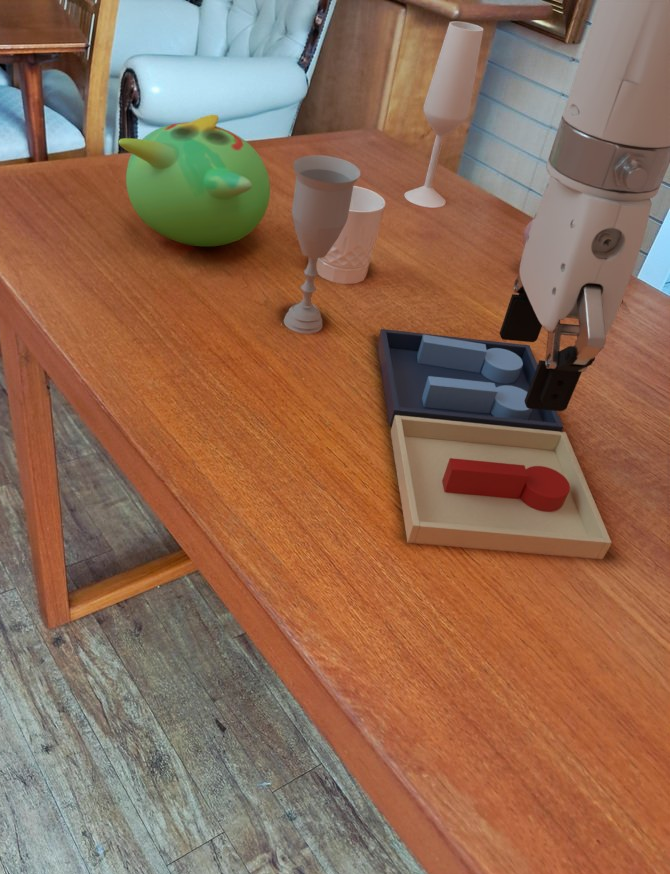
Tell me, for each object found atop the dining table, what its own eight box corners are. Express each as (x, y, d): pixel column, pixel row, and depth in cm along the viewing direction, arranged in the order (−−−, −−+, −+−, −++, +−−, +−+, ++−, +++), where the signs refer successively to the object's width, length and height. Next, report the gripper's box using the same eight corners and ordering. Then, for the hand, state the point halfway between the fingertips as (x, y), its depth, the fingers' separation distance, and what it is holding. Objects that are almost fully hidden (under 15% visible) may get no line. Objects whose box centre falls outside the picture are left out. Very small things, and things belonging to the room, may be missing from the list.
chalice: (320, 349, 88) (348, 189, 76) (263, 332, 89) (282, 171, 77) (340, 320, 93) (369, 166, 81) (286, 304, 94) (307, 149, 82)
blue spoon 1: (515, 364, 90) (523, 343, 88) (520, 386, 87) (528, 365, 85) (416, 349, 90) (422, 327, 88) (417, 370, 86) (423, 348, 84)
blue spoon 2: (524, 401, 85) (532, 379, 83) (533, 426, 81) (542, 404, 79) (420, 390, 84) (426, 368, 82) (425, 415, 80) (432, 392, 78)
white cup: (360, 295, 98) (376, 217, 92) (301, 278, 100) (312, 200, 93) (376, 269, 104) (392, 194, 97) (319, 254, 105) (331, 179, 98)
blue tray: (522, 363, 91) (529, 345, 90) (555, 446, 80) (563, 426, 78) (376, 347, 90) (380, 328, 88) (388, 430, 79) (394, 409, 77)
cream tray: (557, 451, 80) (565, 432, 78) (600, 562, 68) (612, 542, 67) (389, 434, 78) (394, 414, 76) (406, 546, 67) (412, 525, 65)
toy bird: (274, 227, 110) (287, 115, 100) (247, 282, 97) (259, 160, 87) (148, 202, 110) (149, 88, 100) (106, 253, 98) (102, 129, 88)
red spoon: (556, 482, 75) (567, 459, 73) (568, 514, 72) (580, 491, 70) (439, 470, 74) (447, 447, 72) (446, 503, 71) (454, 479, 69)
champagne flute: (396, 197, 123) (433, 22, 107) (416, 186, 128) (455, 17, 112) (434, 211, 121) (478, 35, 105) (453, 200, 125) (498, 29, 109)
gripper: (713, 217, 46) (605, 442, 58) (623, 119, 59) (549, 320, 71) (590, 204, 46) (506, 434, 58) (525, 108, 59) (467, 313, 70)
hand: (530, 371), depth 64 cm, fingers open, 9 cm apart
